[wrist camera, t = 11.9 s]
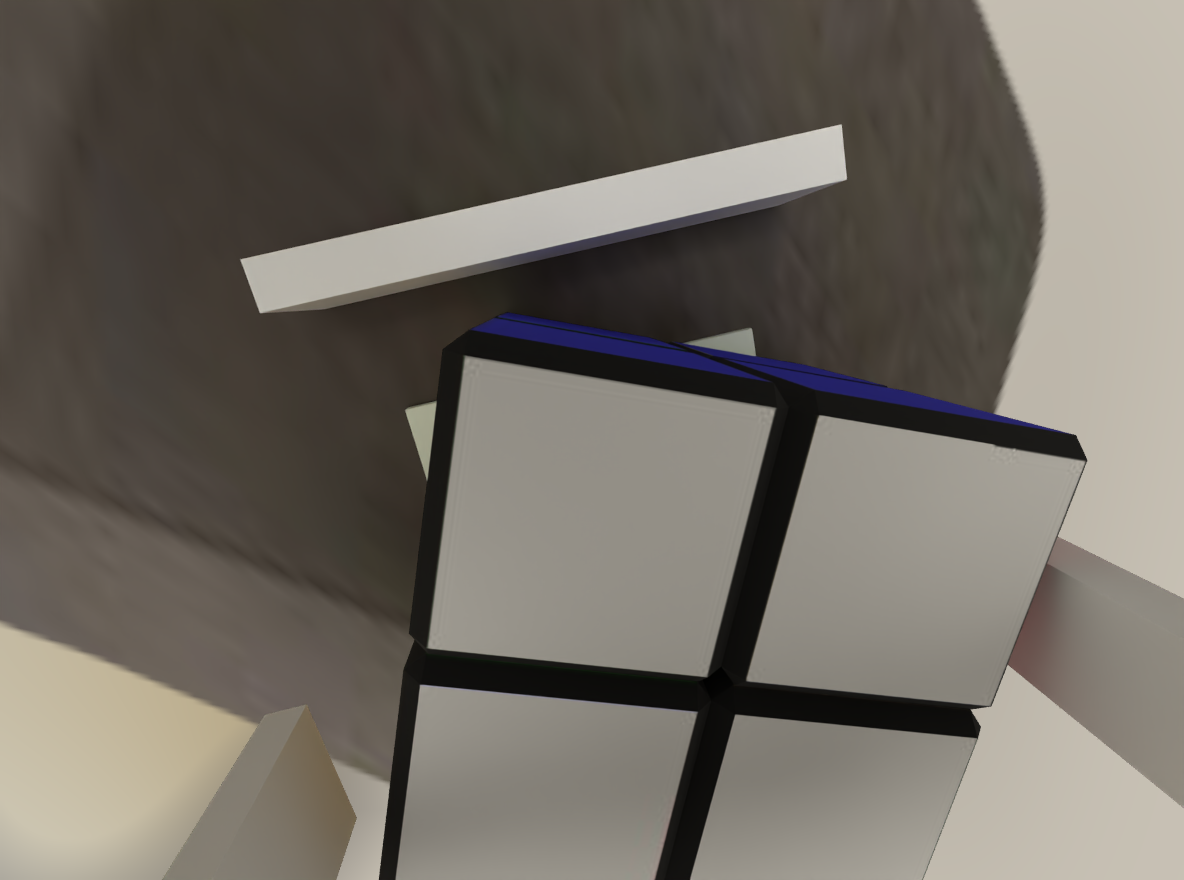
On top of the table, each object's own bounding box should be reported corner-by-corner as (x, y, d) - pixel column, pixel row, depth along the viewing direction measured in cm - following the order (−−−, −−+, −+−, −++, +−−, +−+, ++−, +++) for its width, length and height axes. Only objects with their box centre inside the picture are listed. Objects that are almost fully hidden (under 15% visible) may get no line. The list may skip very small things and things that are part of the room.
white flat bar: (324, 309, 17) (260, 313, 13) (310, 268, 17) (240, 259, 13) (778, 205, 17) (846, 179, 14) (773, 163, 17) (841, 124, 13)
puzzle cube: (810, 364, 18) (1115, 441, 9) (738, 641, 20) (914, 948, 11) (496, 309, 17) (438, 325, 7) (455, 610, 19) (370, 926, 10)
